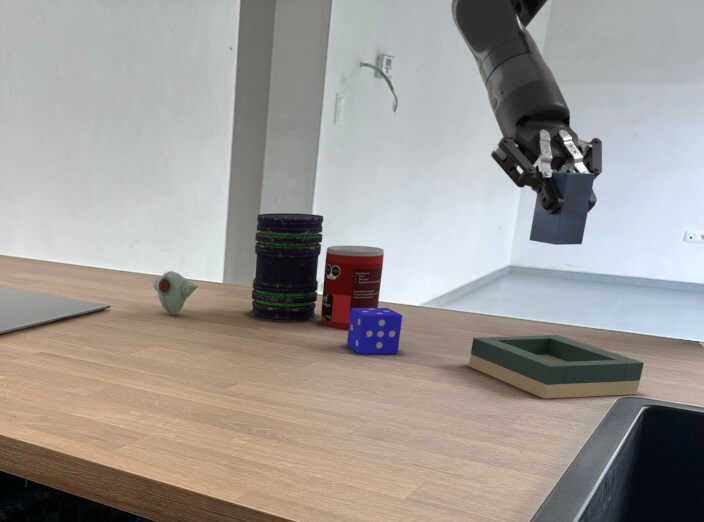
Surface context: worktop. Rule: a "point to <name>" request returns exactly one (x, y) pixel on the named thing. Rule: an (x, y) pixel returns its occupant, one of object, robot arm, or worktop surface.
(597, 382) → the tray
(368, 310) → the die
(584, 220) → the block
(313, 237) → the storage jar
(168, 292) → the robot head
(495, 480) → the worktop surface
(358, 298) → the canned food
